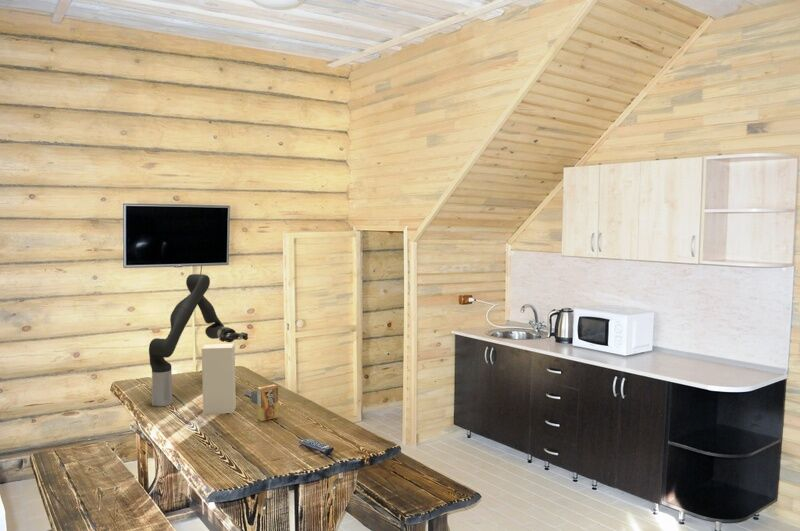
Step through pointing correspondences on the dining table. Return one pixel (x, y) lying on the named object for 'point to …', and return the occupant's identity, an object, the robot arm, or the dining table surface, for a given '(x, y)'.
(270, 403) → the candy box
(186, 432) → the dining table surface
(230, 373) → the tall beige cuboid
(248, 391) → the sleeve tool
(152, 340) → the robot arm
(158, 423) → the dining table surface
